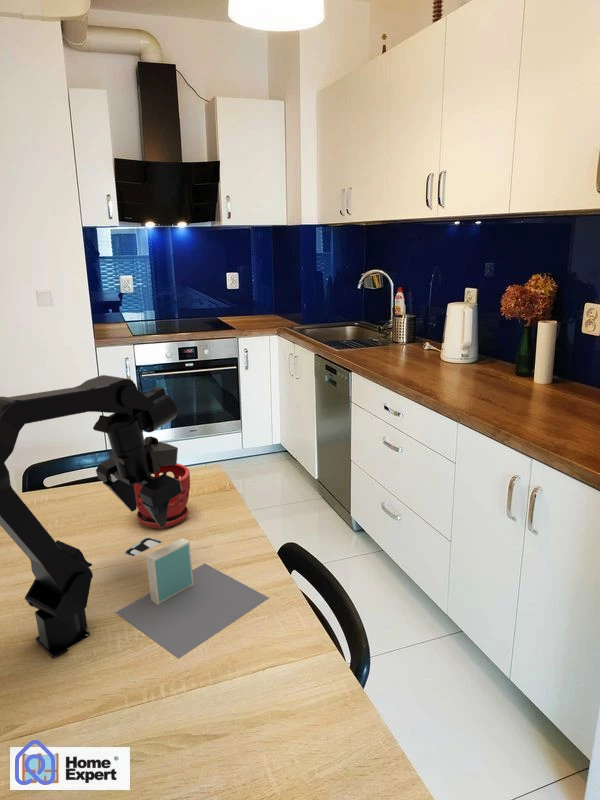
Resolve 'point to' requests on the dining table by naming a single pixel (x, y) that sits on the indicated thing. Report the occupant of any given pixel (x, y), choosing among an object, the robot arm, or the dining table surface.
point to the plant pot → (176, 504)
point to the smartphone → (142, 546)
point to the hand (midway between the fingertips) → (148, 517)
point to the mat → (193, 611)
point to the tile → (169, 570)
